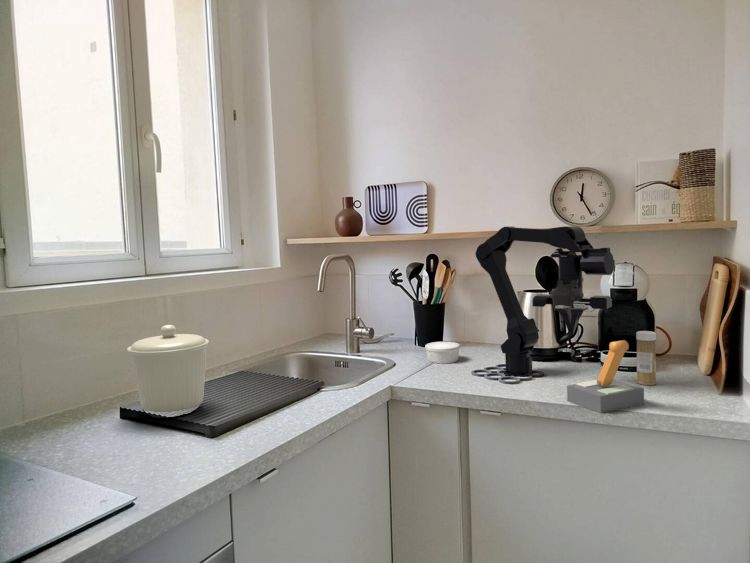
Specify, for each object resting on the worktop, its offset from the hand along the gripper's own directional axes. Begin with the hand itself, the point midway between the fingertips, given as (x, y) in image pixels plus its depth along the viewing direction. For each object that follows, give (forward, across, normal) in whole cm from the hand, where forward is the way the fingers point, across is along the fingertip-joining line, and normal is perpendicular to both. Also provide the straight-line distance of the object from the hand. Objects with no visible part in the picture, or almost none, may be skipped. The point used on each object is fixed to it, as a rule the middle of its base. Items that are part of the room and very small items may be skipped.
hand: (571, 334), depth 136 cm
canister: (+13, -72, -71) cm, 102 cm away
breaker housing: (+13, +11, -12) cm, 21 cm away
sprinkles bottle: (+13, +16, +9) cm, 23 cm away
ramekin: (+13, -43, +7) cm, 46 cm away
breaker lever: (+9, +11, -12) cm, 19 cm away
